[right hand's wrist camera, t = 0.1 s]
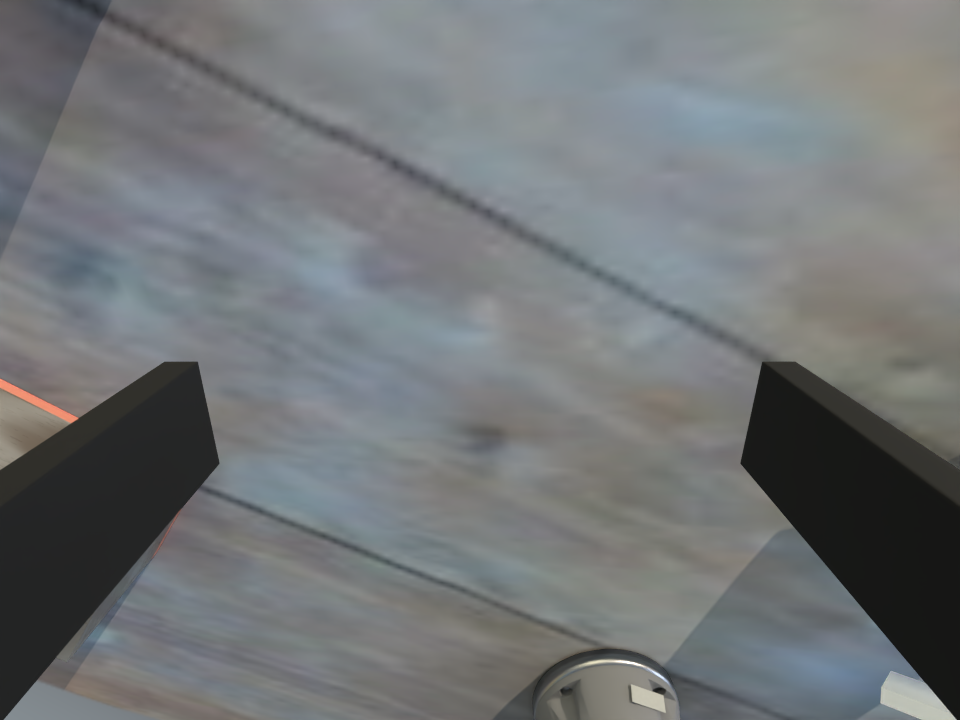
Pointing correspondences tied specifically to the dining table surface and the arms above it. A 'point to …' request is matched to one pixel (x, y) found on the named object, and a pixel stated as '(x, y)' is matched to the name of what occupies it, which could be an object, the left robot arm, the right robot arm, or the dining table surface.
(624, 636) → the dining table surface
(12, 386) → the cabinet
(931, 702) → the white plastic object
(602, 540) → the dining table surface
